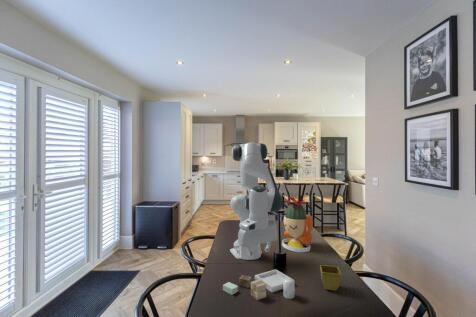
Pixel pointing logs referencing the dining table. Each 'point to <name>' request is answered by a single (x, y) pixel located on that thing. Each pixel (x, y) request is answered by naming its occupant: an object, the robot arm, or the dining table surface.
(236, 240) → the robot arm
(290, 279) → the white capsule shape
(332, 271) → the flower pot
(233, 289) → the green box
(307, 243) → the potted cactus
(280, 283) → the tray
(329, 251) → the dining table surface
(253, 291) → the oak block
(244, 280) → the walnut block
